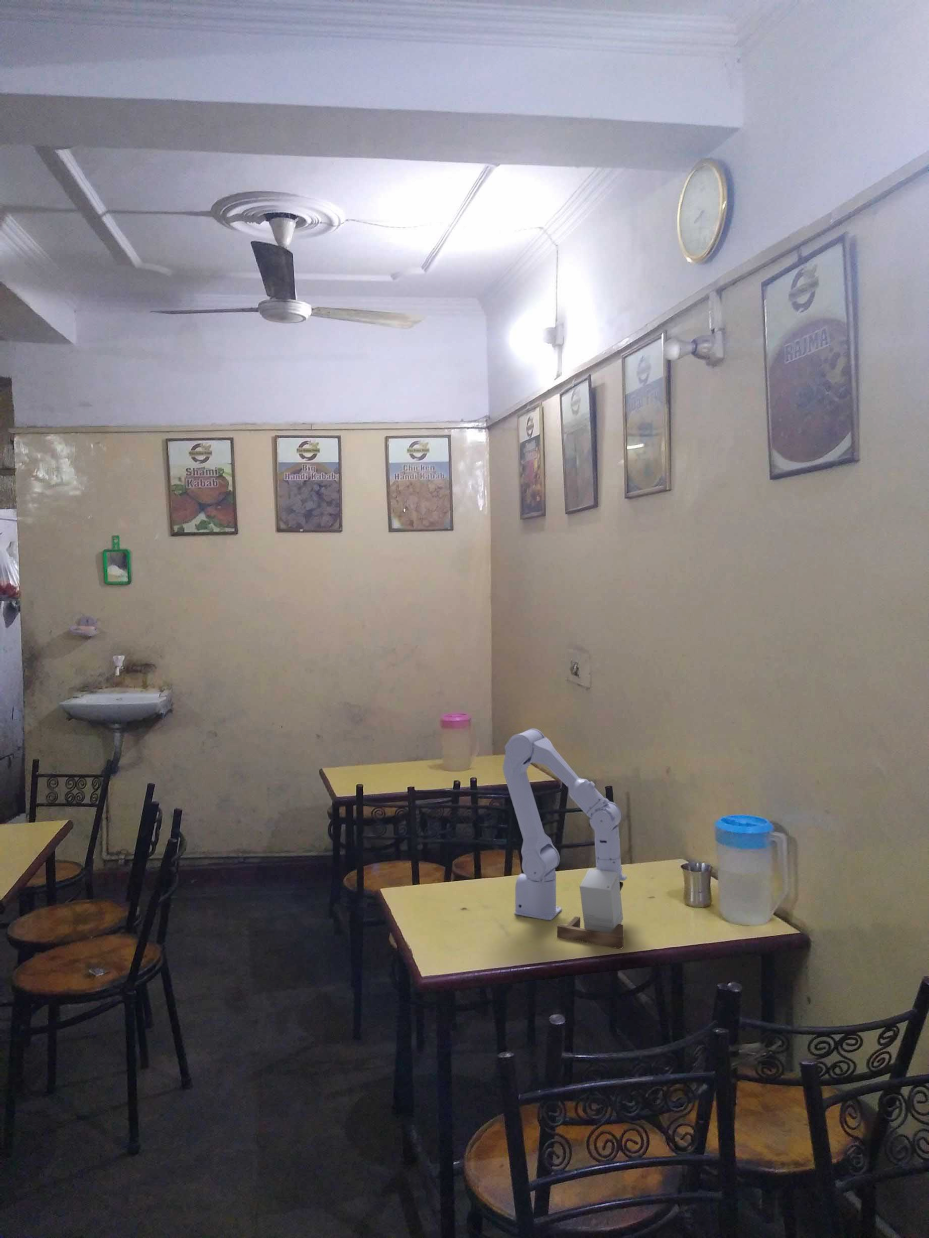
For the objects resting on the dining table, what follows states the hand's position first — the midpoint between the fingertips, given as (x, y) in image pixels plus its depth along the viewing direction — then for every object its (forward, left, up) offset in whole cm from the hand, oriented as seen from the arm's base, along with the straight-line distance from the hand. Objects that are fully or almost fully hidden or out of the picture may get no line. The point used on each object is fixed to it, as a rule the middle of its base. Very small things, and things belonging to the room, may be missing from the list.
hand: (611, 914), depth 208 cm
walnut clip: (-1, -8, -3) cm, 9 cm away
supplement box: (-1, -3, -2) cm, 4 cm away
